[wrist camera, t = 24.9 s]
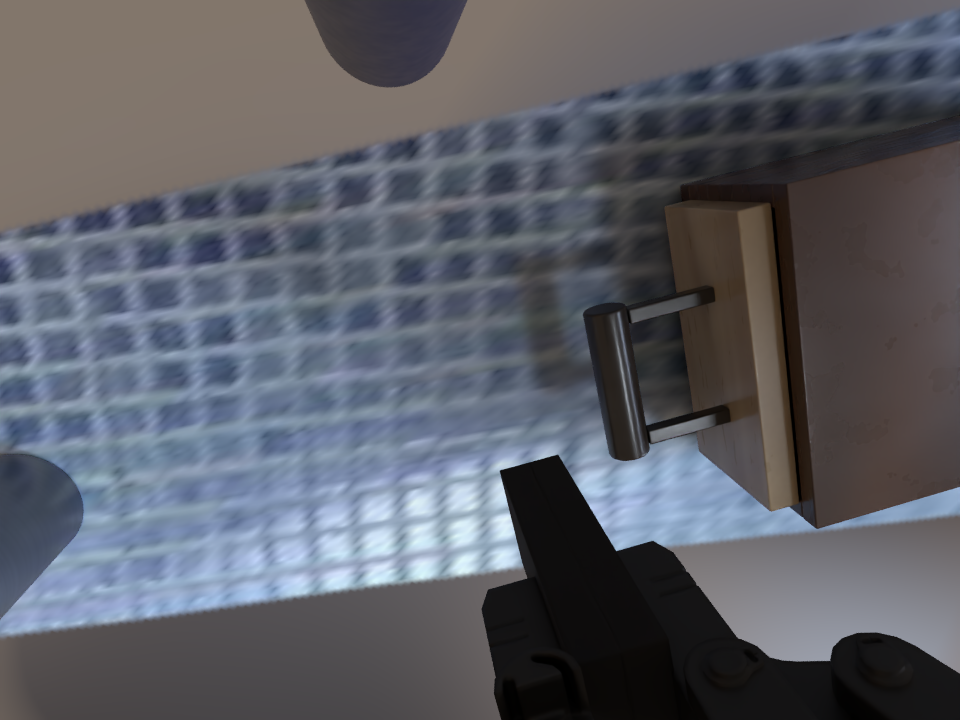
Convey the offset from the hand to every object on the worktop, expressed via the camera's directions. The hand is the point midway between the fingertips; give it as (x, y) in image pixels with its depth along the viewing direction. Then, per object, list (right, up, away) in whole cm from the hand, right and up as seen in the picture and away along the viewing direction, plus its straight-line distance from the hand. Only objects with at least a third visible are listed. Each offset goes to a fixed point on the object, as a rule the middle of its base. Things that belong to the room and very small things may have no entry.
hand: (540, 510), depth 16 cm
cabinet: (+15, +7, +13) cm, 22 cm away
